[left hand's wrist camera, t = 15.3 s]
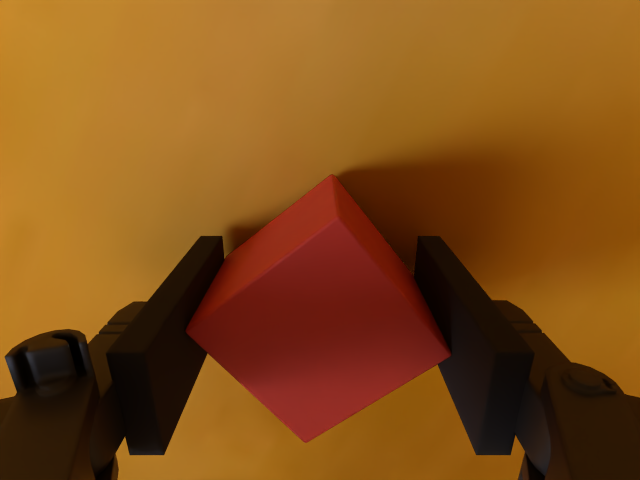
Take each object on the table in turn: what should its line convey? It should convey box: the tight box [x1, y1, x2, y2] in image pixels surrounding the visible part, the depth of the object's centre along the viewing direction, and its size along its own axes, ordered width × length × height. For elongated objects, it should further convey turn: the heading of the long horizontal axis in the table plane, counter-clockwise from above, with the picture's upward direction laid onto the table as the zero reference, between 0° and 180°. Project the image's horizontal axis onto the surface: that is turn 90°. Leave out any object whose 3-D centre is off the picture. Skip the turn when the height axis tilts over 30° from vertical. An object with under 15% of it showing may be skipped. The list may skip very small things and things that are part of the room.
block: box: [185, 174, 451, 443], centre depth 12 cm, size 5×5×5 cm
